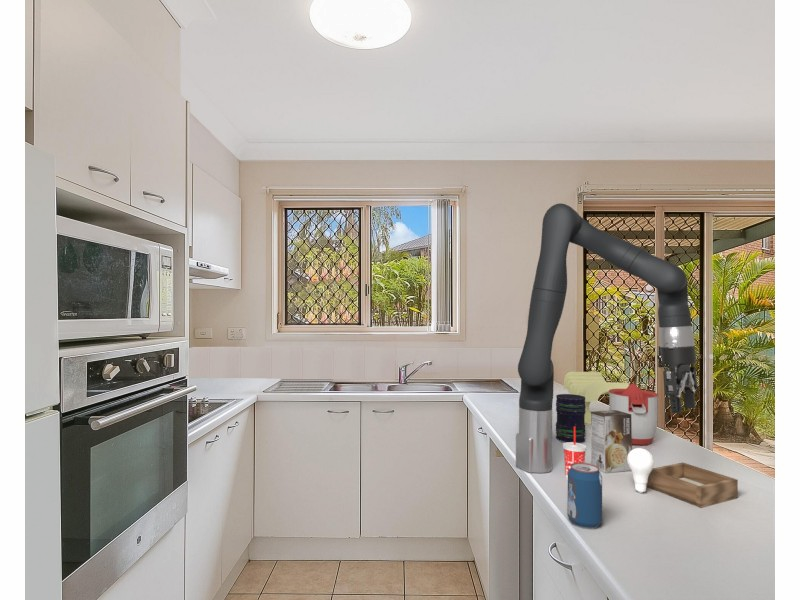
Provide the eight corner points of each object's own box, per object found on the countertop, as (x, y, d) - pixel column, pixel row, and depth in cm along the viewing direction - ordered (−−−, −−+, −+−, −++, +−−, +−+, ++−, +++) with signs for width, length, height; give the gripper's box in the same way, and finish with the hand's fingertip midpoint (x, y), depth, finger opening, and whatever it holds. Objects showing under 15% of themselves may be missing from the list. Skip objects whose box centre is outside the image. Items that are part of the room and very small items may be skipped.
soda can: (606, 522, 103) (607, 466, 103) (595, 533, 98) (595, 474, 98) (574, 513, 108) (575, 459, 108) (562, 523, 102) (562, 467, 103)
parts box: (700, 507, 111) (700, 488, 111) (647, 486, 124) (647, 469, 124) (737, 498, 117) (737, 479, 117) (682, 479, 130) (682, 462, 130)
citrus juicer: (614, 447, 159) (614, 386, 160) (604, 433, 176) (605, 379, 176) (665, 450, 156) (666, 389, 156) (651, 436, 172) (651, 381, 173)
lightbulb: (630, 486, 124) (630, 443, 124) (656, 492, 120) (656, 448, 121) (624, 493, 120) (624, 448, 120) (651, 499, 116) (651, 453, 116)
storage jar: (581, 436, 173) (581, 394, 173) (589, 443, 163) (589, 399, 163) (552, 435, 174) (553, 393, 174) (559, 442, 164) (559, 398, 164)
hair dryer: (563, 411, 213) (563, 371, 214) (600, 412, 212) (600, 372, 213) (585, 428, 183) (585, 381, 184) (628, 429, 182) (628, 382, 183)
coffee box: (616, 463, 142) (617, 409, 142) (632, 471, 136) (632, 414, 136) (590, 466, 140) (590, 411, 140) (605, 473, 134) (605, 415, 134)
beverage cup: (588, 477, 130) (588, 425, 131) (584, 484, 125) (584, 430, 125) (565, 473, 134) (565, 422, 134) (560, 480, 128) (560, 427, 128)
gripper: (672, 343, 127) (678, 405, 126) (649, 346, 118) (655, 413, 117) (704, 342, 121) (711, 407, 120) (682, 346, 112) (689, 416, 111)
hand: (683, 410), depth 118 cm, fingers open, 8 cm apart
